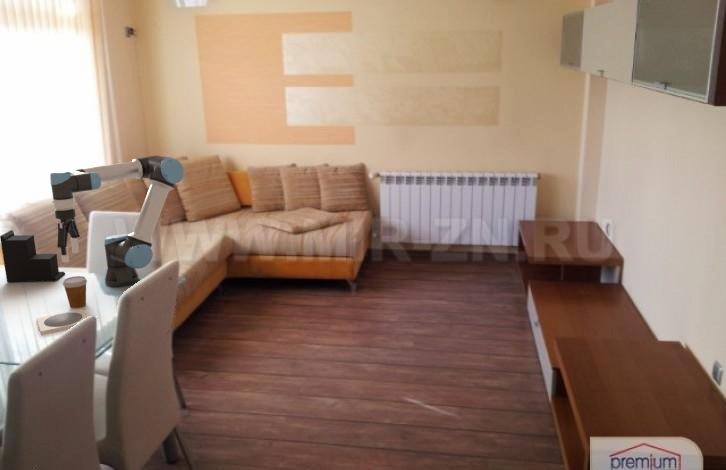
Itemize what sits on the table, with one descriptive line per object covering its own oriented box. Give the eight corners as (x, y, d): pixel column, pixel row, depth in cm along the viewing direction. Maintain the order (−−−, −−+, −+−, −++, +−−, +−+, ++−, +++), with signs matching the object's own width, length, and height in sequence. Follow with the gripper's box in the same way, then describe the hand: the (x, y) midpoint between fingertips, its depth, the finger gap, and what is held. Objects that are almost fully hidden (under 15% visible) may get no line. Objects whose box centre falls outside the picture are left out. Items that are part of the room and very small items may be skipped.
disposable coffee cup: (67, 302, 263) (64, 277, 260) (91, 300, 266) (87, 274, 262) (64, 310, 254) (60, 284, 251) (88, 308, 257) (85, 282, 254)
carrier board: (84, 312, 253) (84, 308, 252) (91, 324, 241) (90, 320, 240) (36, 321, 243) (36, 318, 243) (41, 334, 231) (40, 331, 231)
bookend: (65, 274, 300) (59, 229, 293) (57, 281, 289) (50, 235, 283) (17, 275, 298) (9, 230, 291) (6, 283, 287) (-2, 236, 281)
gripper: (64, 202, 260) (70, 249, 265) (44, 215, 236) (51, 266, 241) (83, 201, 261) (88, 248, 266) (64, 215, 237) (71, 265, 242)
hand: (71, 257), depth 254 cm, fingers open, 13 cm apart
